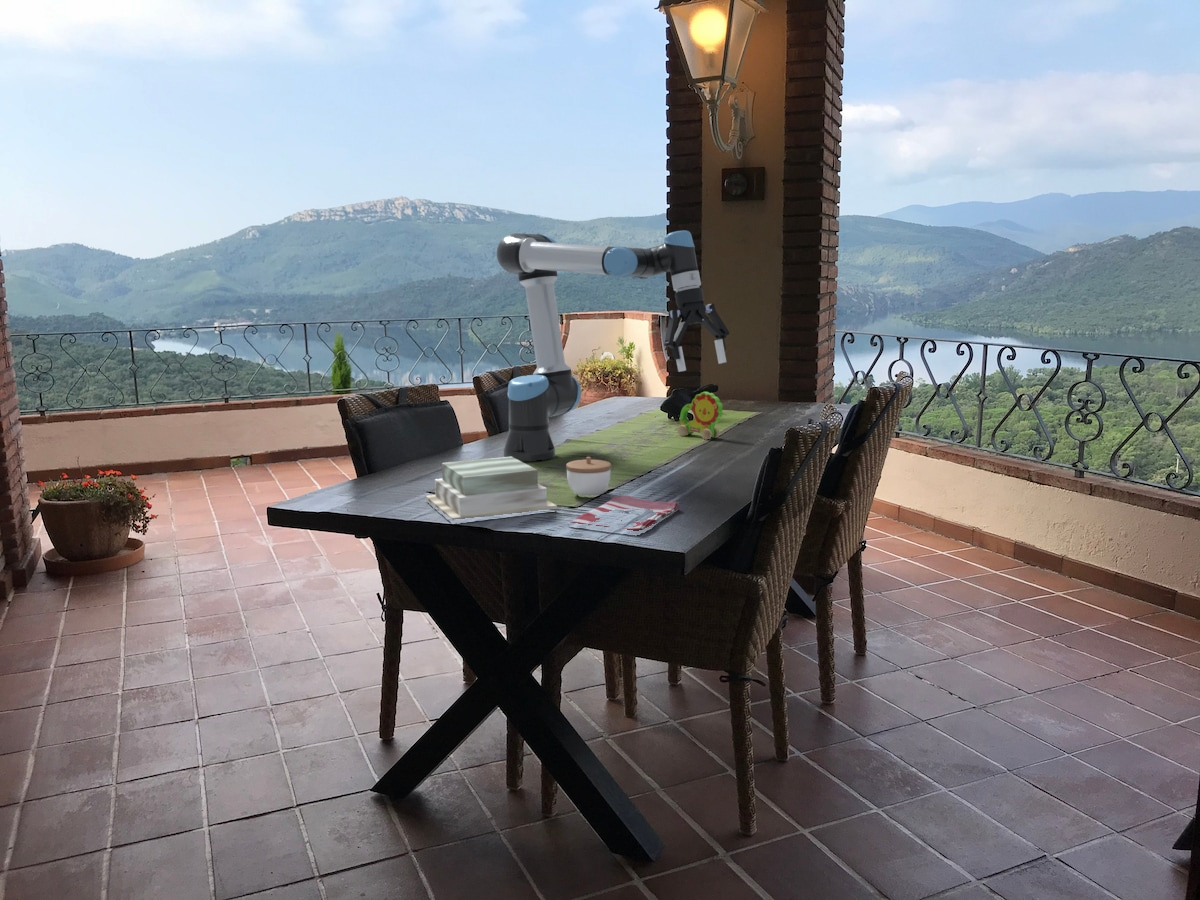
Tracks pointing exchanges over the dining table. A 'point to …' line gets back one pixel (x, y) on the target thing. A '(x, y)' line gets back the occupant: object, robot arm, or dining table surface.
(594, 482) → the lidded jar
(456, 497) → the brick tower
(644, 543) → the dining table surface
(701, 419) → the toy lion
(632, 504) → the dish towel
